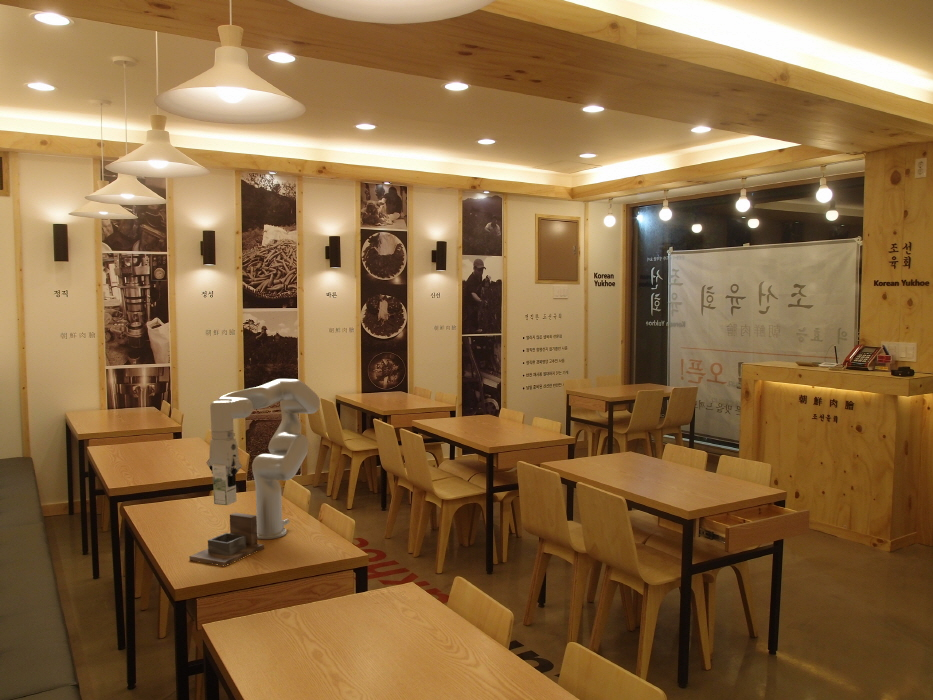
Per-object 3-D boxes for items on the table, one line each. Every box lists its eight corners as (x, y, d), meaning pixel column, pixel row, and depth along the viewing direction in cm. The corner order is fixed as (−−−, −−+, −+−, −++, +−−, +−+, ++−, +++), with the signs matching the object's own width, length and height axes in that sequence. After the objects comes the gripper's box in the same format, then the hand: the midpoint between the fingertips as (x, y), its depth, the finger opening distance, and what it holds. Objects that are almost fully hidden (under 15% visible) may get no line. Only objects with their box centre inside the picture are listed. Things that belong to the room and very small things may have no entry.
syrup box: (237, 501, 263) (235, 461, 262) (226, 505, 257) (225, 465, 256) (224, 500, 265) (222, 460, 264) (213, 504, 259) (211, 464, 258)
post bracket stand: (230, 543, 275) (229, 511, 274) (264, 548, 268) (262, 516, 267) (189, 560, 256) (188, 526, 256) (224, 566, 250) (223, 532, 249)
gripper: (248, 435, 259) (250, 485, 260) (212, 431, 267) (214, 480, 268) (233, 438, 252) (235, 490, 254) (196, 435, 260) (198, 485, 261)
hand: (224, 484), depth 261 cm, fingers closed on syrup box, 6 cm apart
